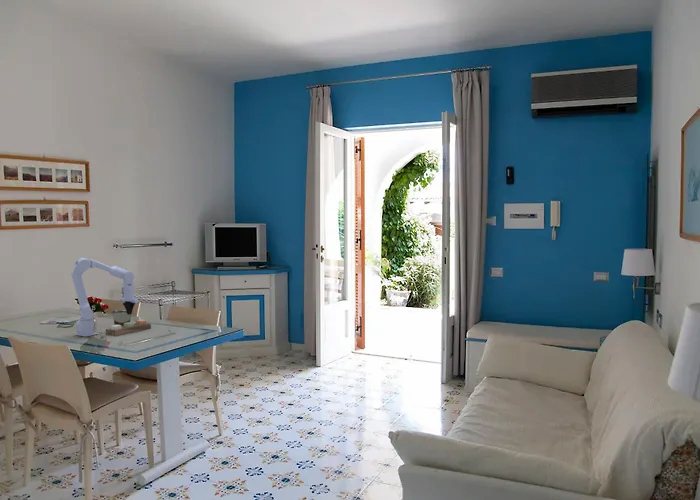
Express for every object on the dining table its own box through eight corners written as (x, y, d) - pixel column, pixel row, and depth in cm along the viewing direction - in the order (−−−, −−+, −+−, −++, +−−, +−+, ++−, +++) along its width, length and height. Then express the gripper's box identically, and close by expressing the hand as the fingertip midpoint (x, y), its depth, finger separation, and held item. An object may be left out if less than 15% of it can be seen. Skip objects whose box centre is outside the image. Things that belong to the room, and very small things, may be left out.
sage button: (123, 328, 333) (123, 323, 333) (129, 327, 337) (129, 322, 336) (128, 329, 331) (128, 323, 331) (134, 328, 334) (133, 322, 334)
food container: (136, 324, 354) (135, 308, 354) (131, 326, 348) (130, 310, 348) (117, 324, 356) (116, 308, 355) (112, 326, 349) (111, 310, 349)
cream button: (111, 331, 326) (110, 325, 326) (117, 330, 329) (116, 324, 329) (115, 332, 324) (115, 326, 324) (121, 331, 327) (121, 325, 327)
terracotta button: (136, 326, 340) (135, 320, 340) (141, 325, 344) (141, 319, 344) (140, 327, 338) (140, 321, 338) (146, 325, 342) (145, 320, 341)
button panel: (106, 334, 326) (105, 329, 326) (141, 326, 346) (141, 322, 346) (115, 336, 321) (115, 330, 321) (151, 328, 342) (150, 323, 341)
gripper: (142, 291, 336) (143, 314, 337) (126, 289, 344) (127, 312, 345) (132, 293, 330) (133, 316, 331) (116, 291, 338) (117, 314, 339)
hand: (129, 314), depth 337 cm, fingers closed
